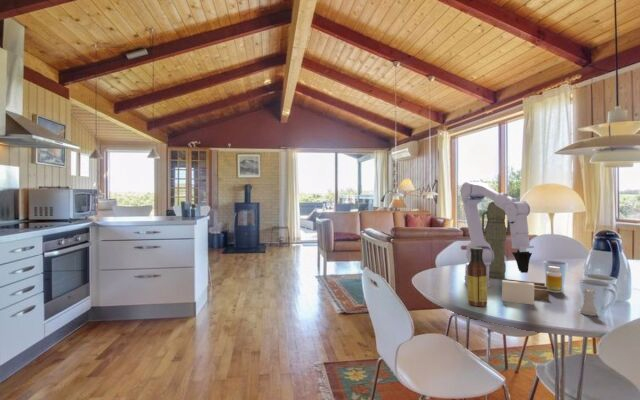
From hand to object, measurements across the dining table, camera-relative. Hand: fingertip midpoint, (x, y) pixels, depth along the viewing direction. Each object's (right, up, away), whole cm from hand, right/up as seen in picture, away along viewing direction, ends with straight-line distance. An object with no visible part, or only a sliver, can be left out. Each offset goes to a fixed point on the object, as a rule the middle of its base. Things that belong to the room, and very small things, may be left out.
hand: (523, 271), depth 126 cm
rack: (+7, -11, +11) cm, 17 cm away
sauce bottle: (-19, -11, -4) cm, 22 cm away
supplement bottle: (+20, -11, +14) cm, 27 cm away
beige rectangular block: (-2, -11, 0) cm, 11 cm away
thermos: (+9, -10, +38) cm, 40 cm away
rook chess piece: (+14, -11, -13) cm, 22 cm away
